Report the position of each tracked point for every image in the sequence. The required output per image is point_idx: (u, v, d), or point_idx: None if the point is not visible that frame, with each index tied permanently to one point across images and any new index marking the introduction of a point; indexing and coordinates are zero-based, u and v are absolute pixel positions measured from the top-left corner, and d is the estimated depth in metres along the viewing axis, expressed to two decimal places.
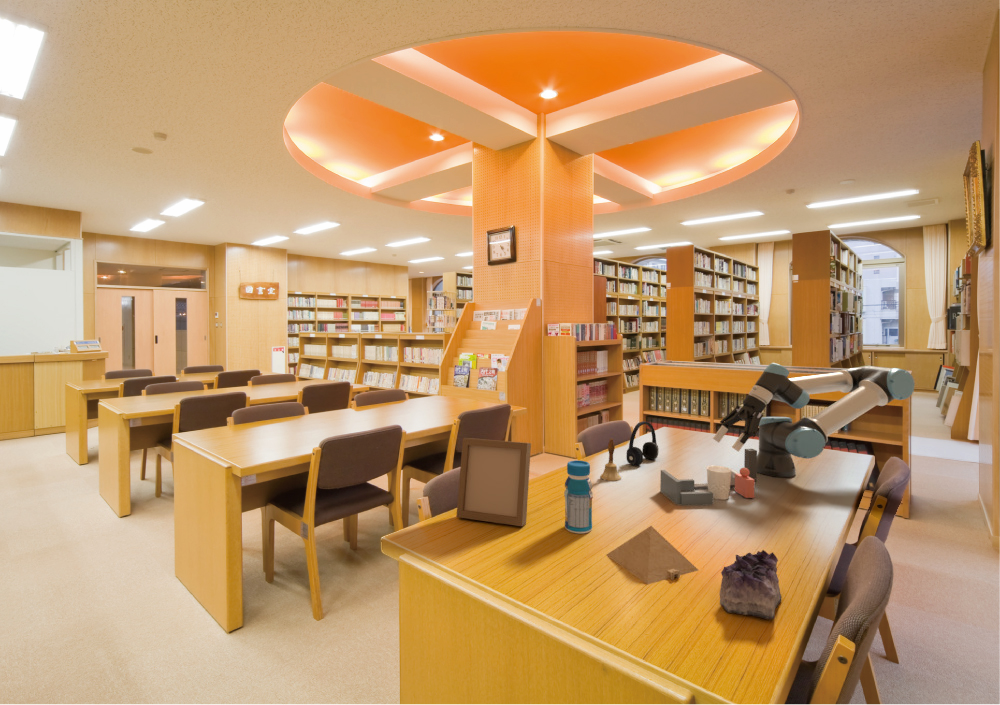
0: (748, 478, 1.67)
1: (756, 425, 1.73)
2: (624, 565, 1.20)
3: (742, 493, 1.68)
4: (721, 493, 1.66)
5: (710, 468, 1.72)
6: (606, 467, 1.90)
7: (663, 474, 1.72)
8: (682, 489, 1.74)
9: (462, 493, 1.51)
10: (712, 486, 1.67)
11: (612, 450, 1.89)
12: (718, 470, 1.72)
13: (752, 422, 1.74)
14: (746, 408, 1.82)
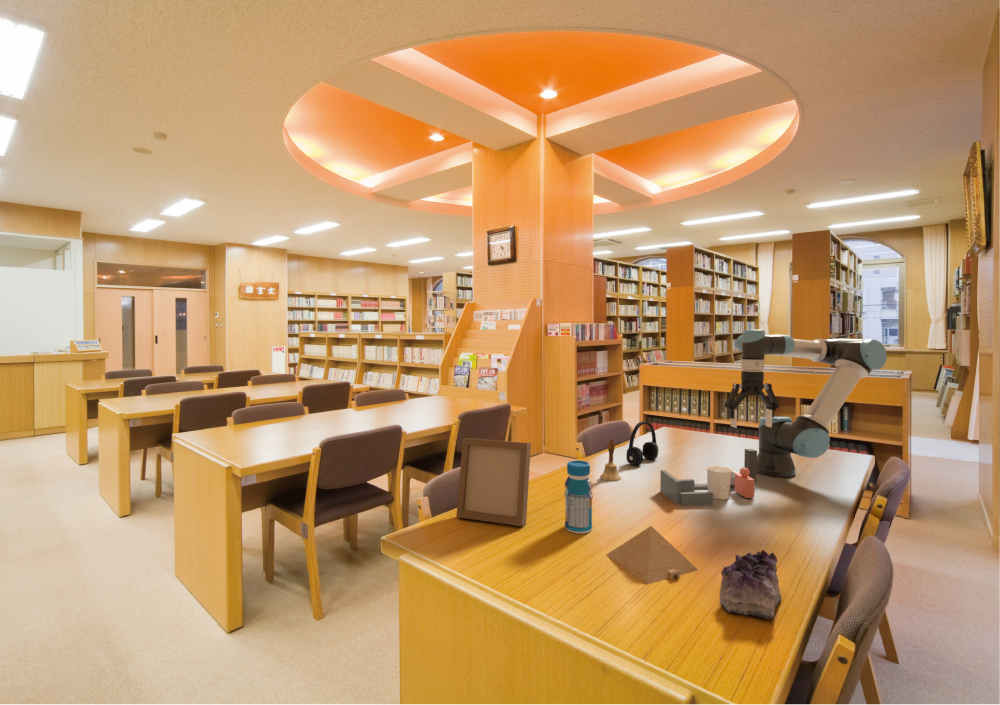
0: (748, 478, 1.67)
1: None
2: (624, 565, 1.20)
3: (742, 493, 1.68)
4: (721, 493, 1.66)
5: (710, 468, 1.72)
6: (606, 467, 1.90)
7: (663, 474, 1.72)
8: (682, 489, 1.74)
9: (462, 493, 1.51)
10: (712, 486, 1.67)
11: (612, 450, 1.89)
12: (718, 470, 1.72)
13: (773, 396, 1.77)
14: (752, 384, 1.77)
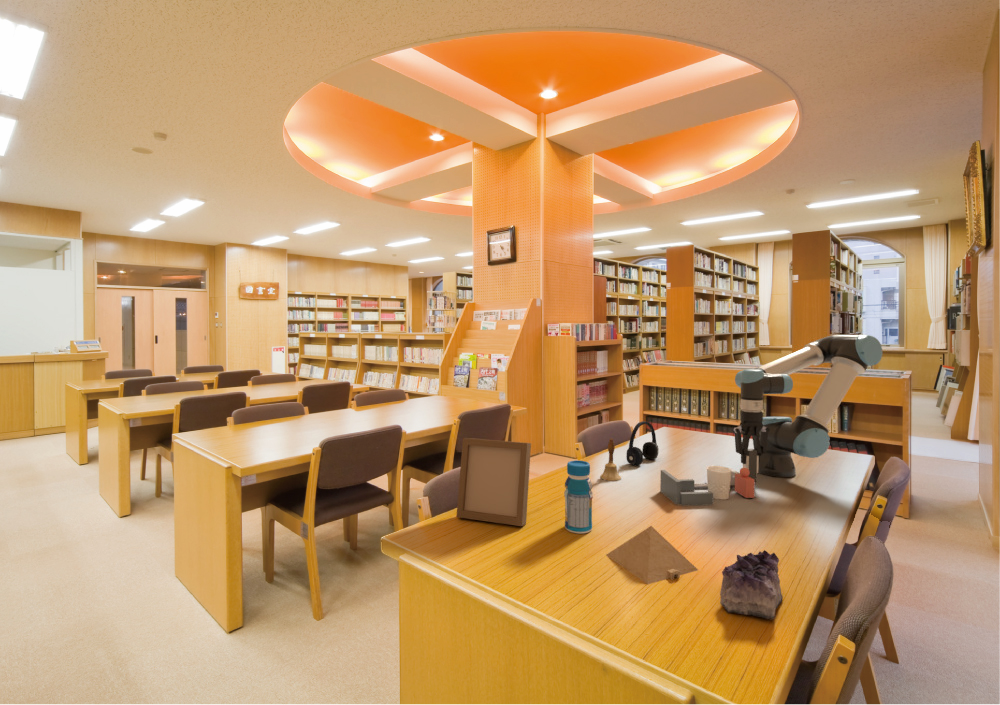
0: (748, 478, 1.67)
1: None
2: (624, 565, 1.20)
3: (742, 493, 1.68)
4: (721, 493, 1.66)
5: (710, 468, 1.72)
6: (606, 467, 1.90)
7: (663, 474, 1.72)
8: (682, 489, 1.74)
9: (462, 493, 1.51)
10: (712, 486, 1.67)
11: (612, 450, 1.89)
12: (718, 470, 1.72)
13: (765, 441, 1.78)
14: (751, 424, 1.77)
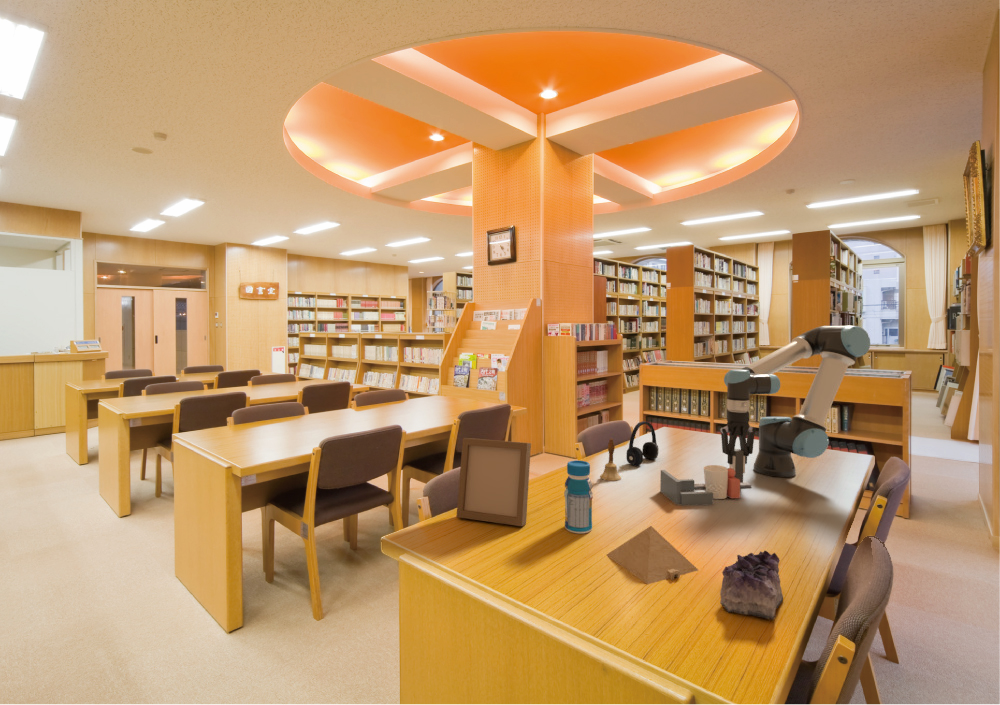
0: (734, 478, 1.67)
1: None
2: (624, 565, 1.20)
3: (728, 493, 1.68)
4: (719, 492, 1.66)
5: (707, 468, 1.72)
6: (606, 467, 1.90)
7: (663, 474, 1.72)
8: (682, 489, 1.74)
9: (462, 493, 1.51)
10: (710, 486, 1.67)
11: (612, 450, 1.89)
12: (715, 469, 1.72)
13: (752, 441, 1.78)
14: (737, 424, 1.77)
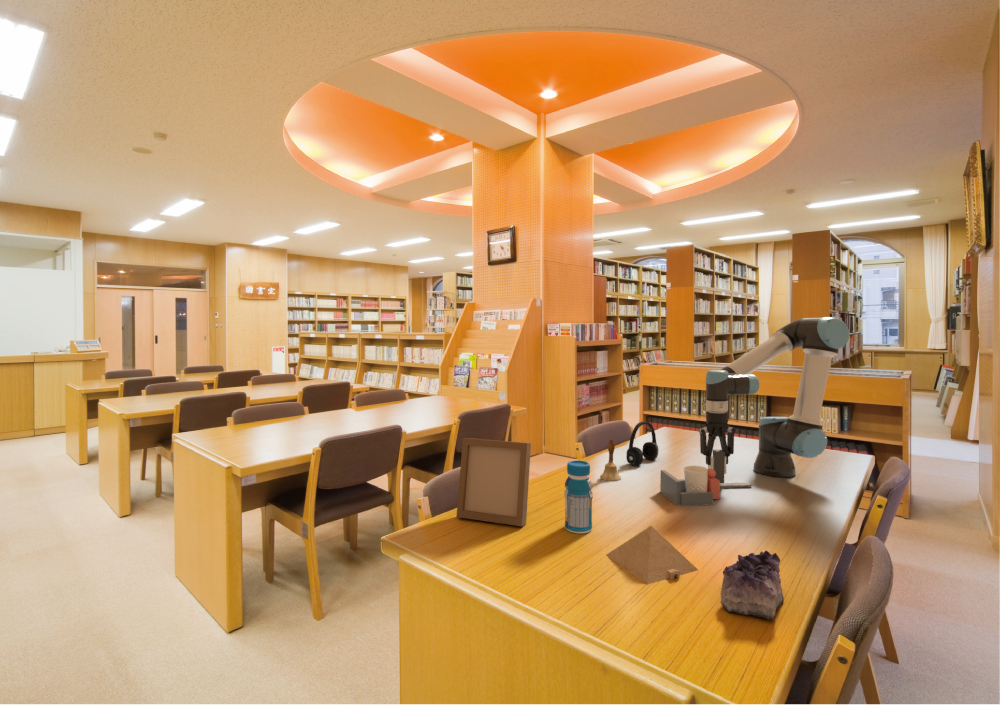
0: (714, 479, 1.67)
1: None
2: (624, 565, 1.20)
3: None
4: None
5: (687, 468, 1.71)
6: (606, 467, 1.90)
7: (663, 474, 1.72)
8: (682, 489, 1.74)
9: (462, 493, 1.51)
10: (689, 487, 1.67)
11: (612, 450, 1.89)
12: (695, 470, 1.72)
13: (732, 441, 1.77)
14: (716, 425, 1.77)
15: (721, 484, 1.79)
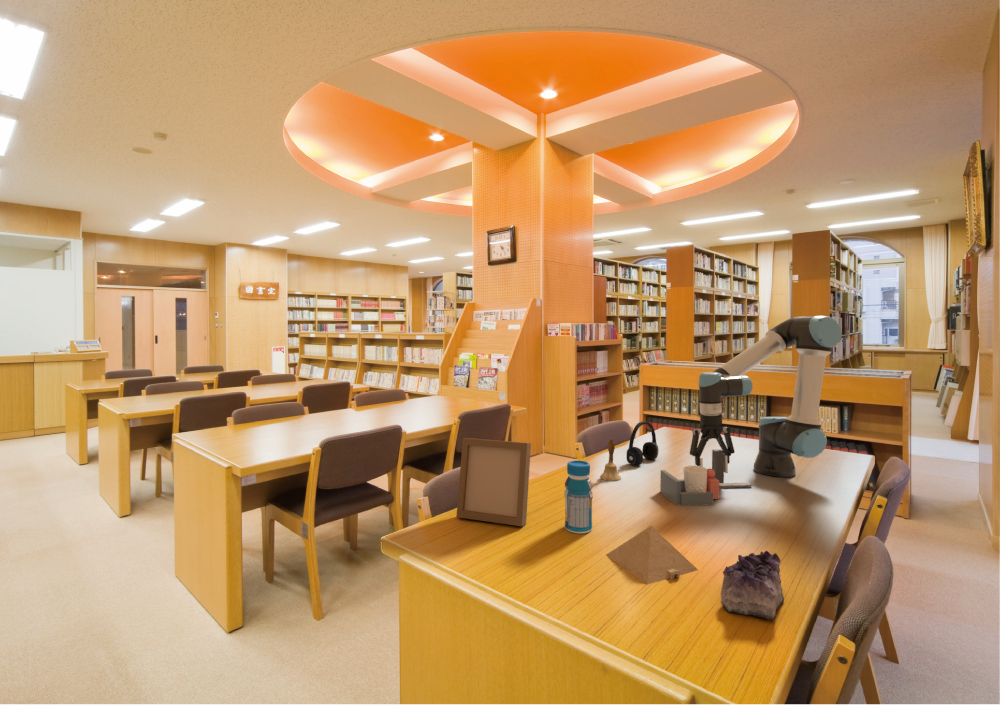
0: (713, 479, 1.67)
1: None
2: (624, 565, 1.20)
3: None
4: None
5: (687, 468, 1.71)
6: (606, 467, 1.90)
7: (663, 474, 1.72)
8: (682, 489, 1.74)
9: (462, 493, 1.51)
10: (689, 487, 1.67)
11: (612, 450, 1.89)
12: (695, 470, 1.72)
13: (730, 441, 1.77)
14: (711, 427, 1.76)
15: (721, 484, 1.79)
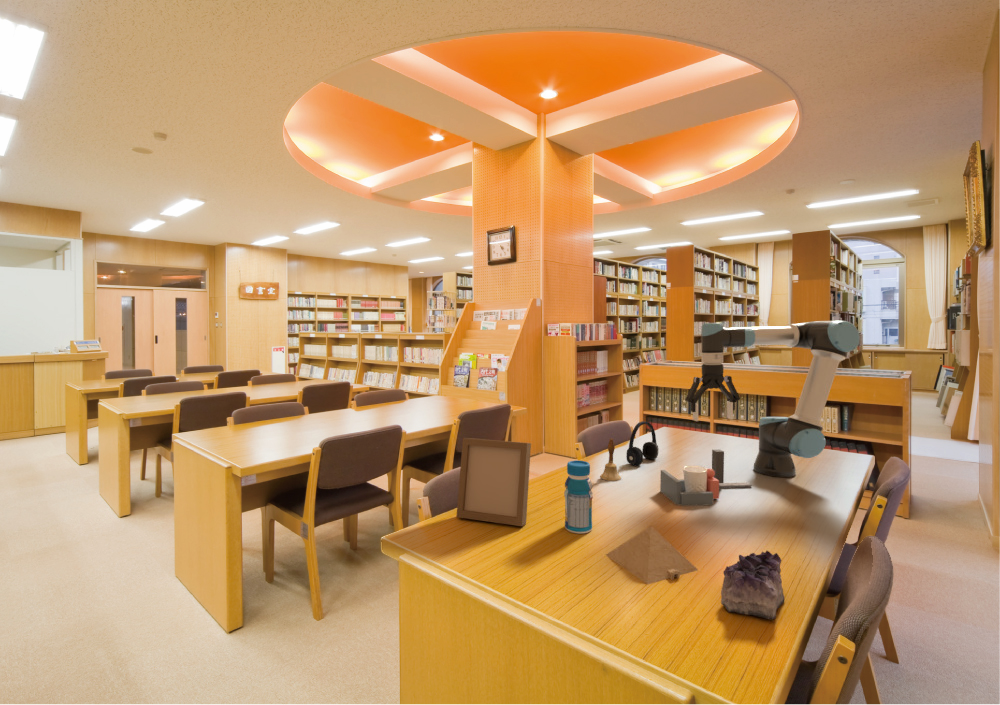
0: (713, 479, 1.67)
1: None
2: (624, 565, 1.20)
3: None
4: None
5: (687, 468, 1.71)
6: (606, 467, 1.90)
7: (663, 474, 1.72)
8: (682, 489, 1.74)
9: (462, 493, 1.51)
10: (689, 487, 1.67)
11: (612, 450, 1.89)
12: (695, 470, 1.72)
13: (733, 388, 1.78)
14: (712, 377, 1.77)
15: (721, 484, 1.79)
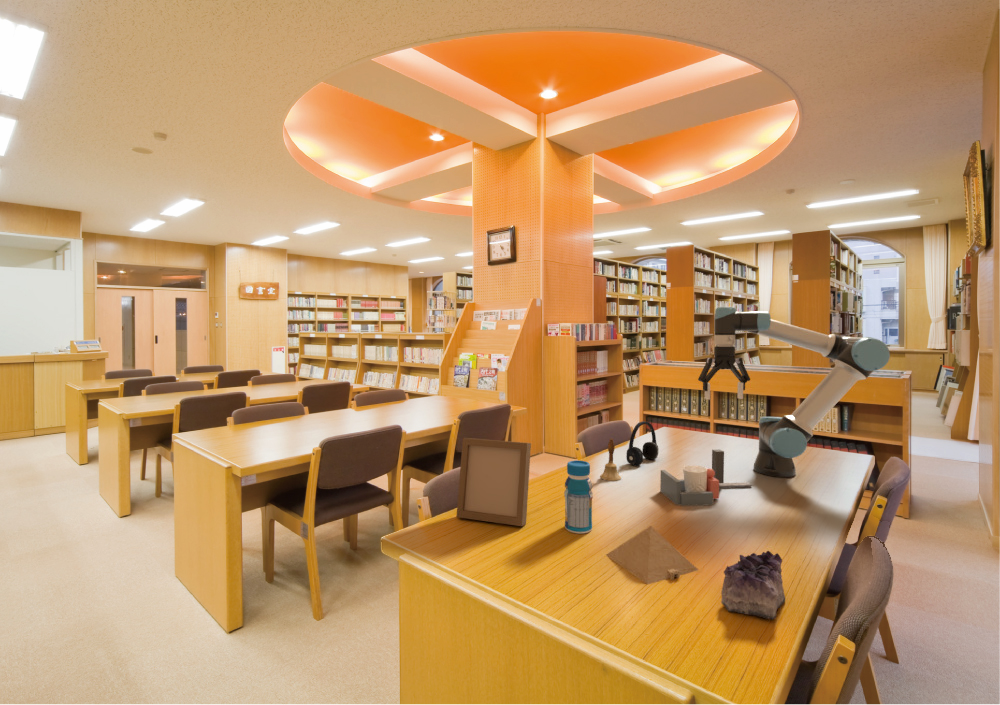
0: (713, 479, 1.67)
1: None
2: (624, 565, 1.20)
3: None
4: None
5: (687, 468, 1.71)
6: (606, 467, 1.90)
7: (663, 474, 1.72)
8: (682, 489, 1.74)
9: (462, 493, 1.51)
10: (689, 487, 1.67)
11: (612, 450, 1.89)
12: (695, 470, 1.72)
13: (744, 369, 1.88)
14: (724, 358, 1.87)
15: (721, 484, 1.79)
